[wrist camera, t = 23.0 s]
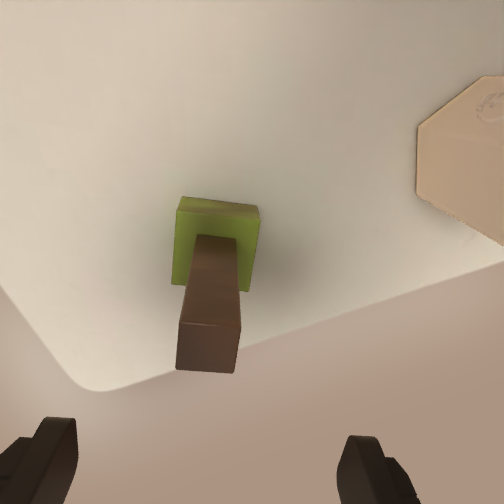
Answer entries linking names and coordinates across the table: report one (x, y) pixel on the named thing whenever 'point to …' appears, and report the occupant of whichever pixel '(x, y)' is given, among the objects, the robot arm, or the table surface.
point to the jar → (466, 158)
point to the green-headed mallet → (212, 279)
